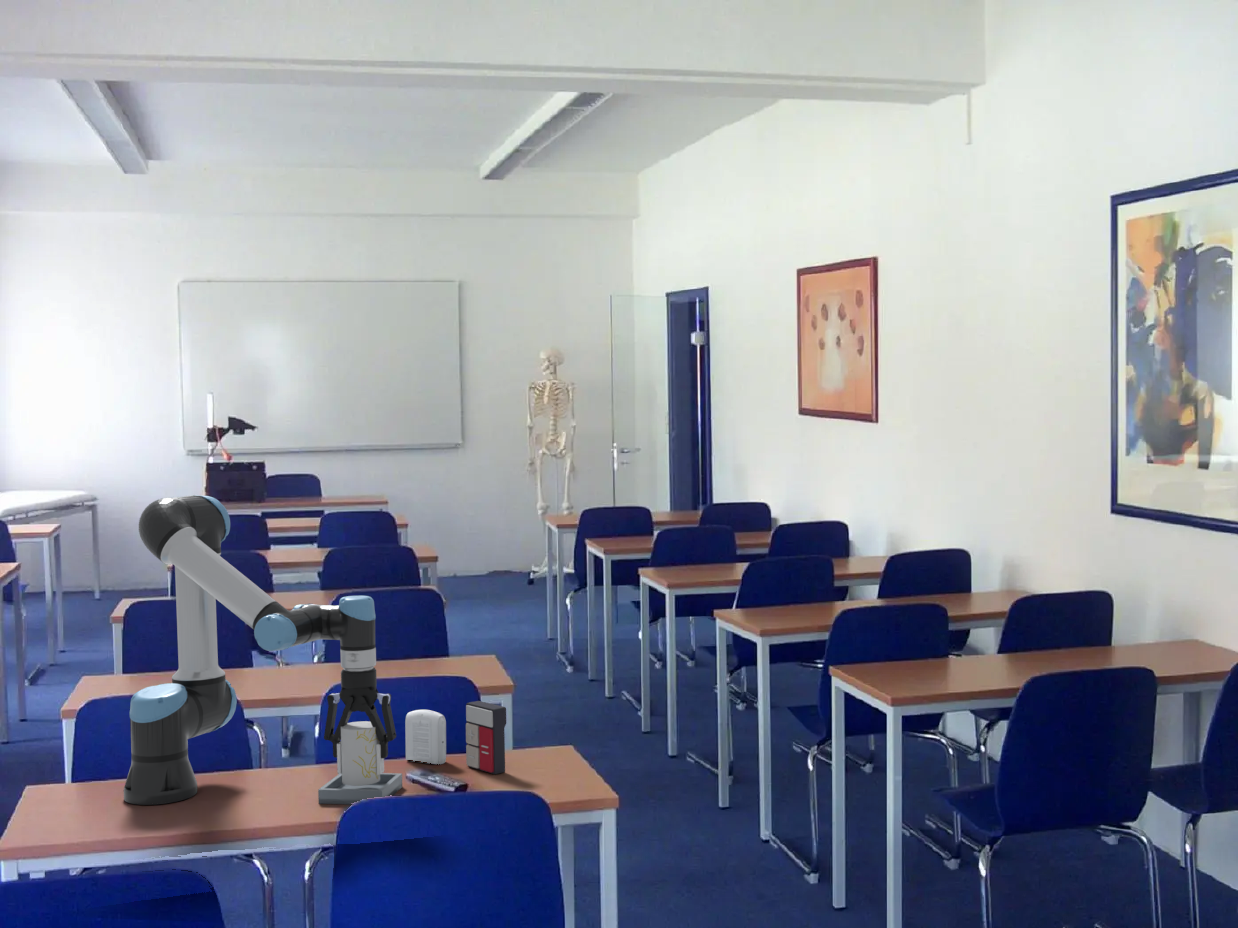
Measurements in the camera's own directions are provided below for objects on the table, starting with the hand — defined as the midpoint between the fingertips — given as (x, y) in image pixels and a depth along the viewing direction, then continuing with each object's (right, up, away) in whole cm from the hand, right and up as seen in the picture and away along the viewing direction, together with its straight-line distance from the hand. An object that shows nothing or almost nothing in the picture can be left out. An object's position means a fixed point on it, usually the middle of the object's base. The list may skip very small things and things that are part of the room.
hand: (360, 772), depth 281 cm
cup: (0, -2, 0) cm, 2 cm away
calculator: (+25, -4, +20) cm, 32 cm away
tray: (0, -5, 0) cm, 5 cm away
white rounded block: (+10, -4, +28) cm, 30 cm away
